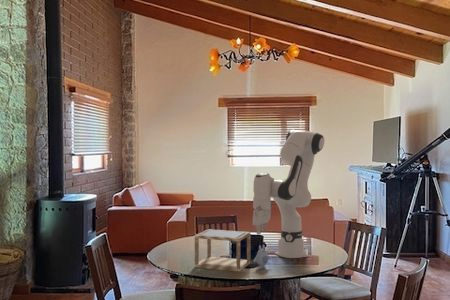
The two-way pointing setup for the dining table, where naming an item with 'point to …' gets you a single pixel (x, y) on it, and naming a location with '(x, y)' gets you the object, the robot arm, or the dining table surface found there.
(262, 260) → the toy figure
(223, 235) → the trapdoor
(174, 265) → the dining table surface
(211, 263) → the frame
